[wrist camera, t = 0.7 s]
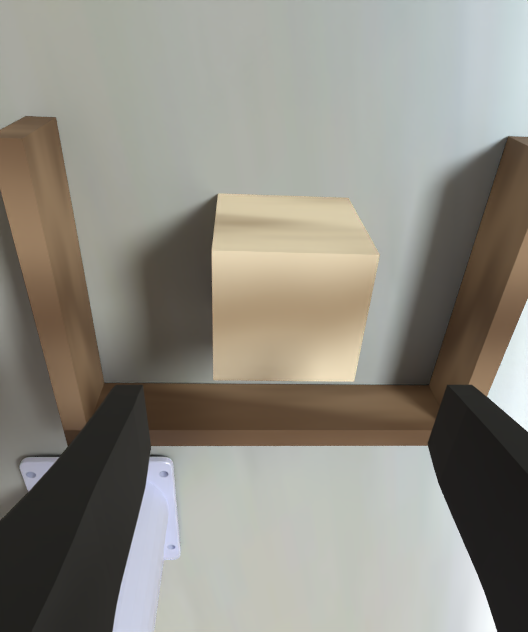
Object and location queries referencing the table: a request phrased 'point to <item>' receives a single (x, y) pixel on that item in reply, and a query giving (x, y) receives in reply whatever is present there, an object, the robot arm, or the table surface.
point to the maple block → (289, 288)
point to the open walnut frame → (256, 399)
